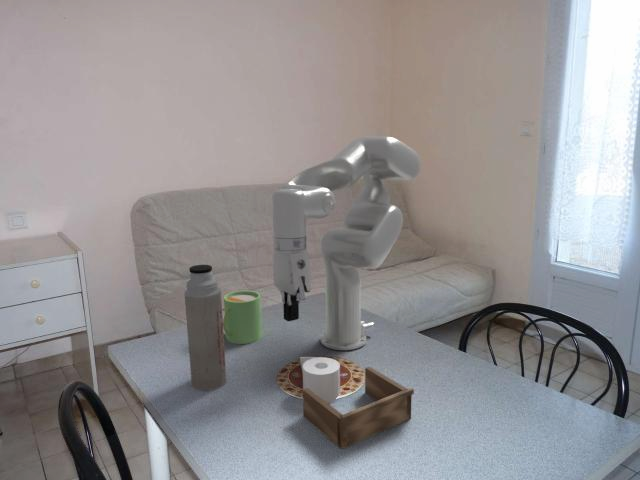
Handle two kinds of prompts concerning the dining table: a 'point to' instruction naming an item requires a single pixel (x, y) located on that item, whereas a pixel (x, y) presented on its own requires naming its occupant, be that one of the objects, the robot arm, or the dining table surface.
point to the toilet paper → (321, 377)
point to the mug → (242, 317)
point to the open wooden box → (361, 411)
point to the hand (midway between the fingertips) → (291, 319)
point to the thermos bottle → (205, 329)
